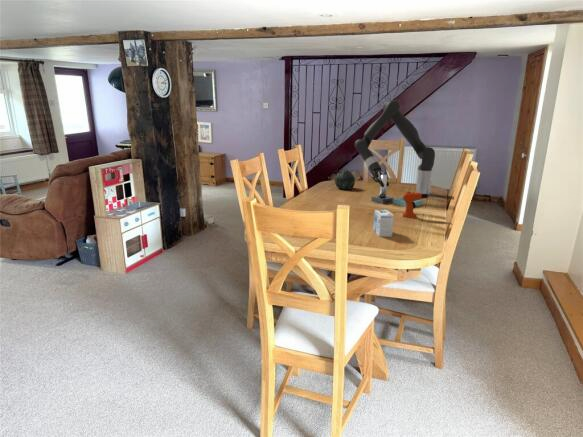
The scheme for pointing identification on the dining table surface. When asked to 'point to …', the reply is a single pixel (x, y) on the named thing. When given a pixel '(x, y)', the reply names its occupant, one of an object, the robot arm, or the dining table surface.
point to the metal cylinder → (383, 189)
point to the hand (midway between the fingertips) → (385, 186)
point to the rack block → (401, 202)
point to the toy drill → (412, 203)
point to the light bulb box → (383, 223)
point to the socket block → (382, 199)
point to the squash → (345, 180)
